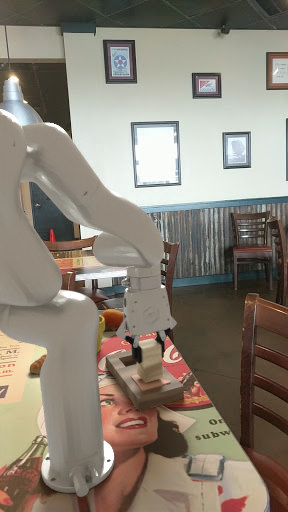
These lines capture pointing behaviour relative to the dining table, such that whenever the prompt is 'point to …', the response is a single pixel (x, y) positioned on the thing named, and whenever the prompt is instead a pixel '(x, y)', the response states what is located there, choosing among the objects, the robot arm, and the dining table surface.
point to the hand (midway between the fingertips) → (148, 357)
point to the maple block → (150, 361)
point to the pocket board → (143, 383)
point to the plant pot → (100, 332)
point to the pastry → (37, 365)
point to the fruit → (112, 319)
